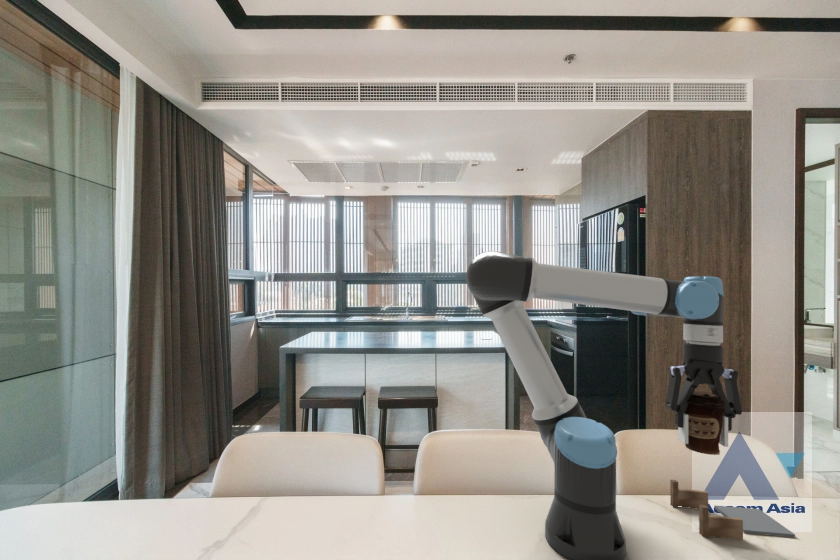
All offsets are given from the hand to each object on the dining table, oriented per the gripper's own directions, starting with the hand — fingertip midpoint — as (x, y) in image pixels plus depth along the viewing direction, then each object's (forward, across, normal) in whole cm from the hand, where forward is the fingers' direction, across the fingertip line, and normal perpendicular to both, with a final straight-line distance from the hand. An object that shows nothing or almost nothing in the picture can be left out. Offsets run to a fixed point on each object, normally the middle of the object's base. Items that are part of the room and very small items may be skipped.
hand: (702, 442), depth 88 cm
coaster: (+17, +11, +2) cm, 21 cm away
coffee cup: (+2, 0, 0) cm, 2 cm away
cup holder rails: (+17, 0, 0) cm, 17 cm away
